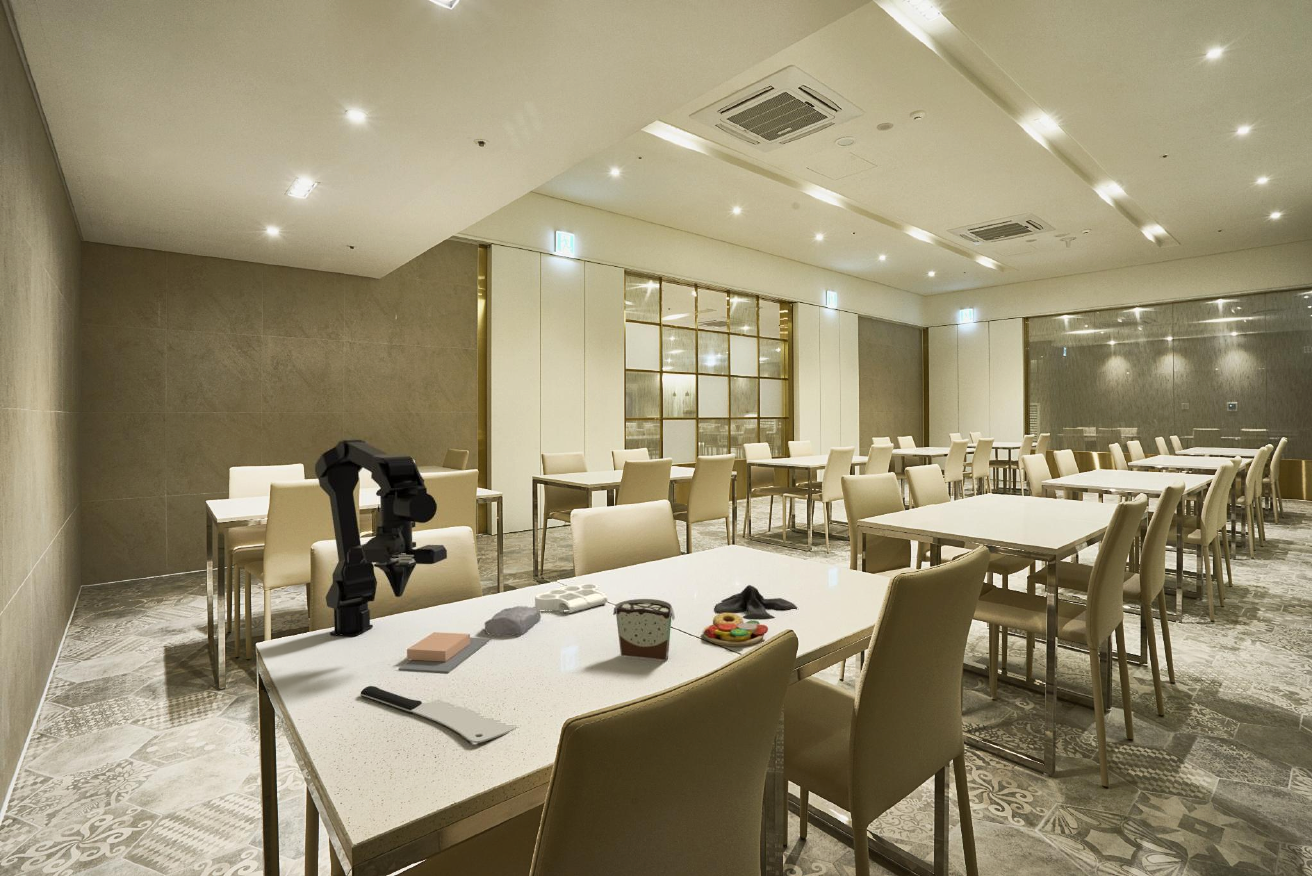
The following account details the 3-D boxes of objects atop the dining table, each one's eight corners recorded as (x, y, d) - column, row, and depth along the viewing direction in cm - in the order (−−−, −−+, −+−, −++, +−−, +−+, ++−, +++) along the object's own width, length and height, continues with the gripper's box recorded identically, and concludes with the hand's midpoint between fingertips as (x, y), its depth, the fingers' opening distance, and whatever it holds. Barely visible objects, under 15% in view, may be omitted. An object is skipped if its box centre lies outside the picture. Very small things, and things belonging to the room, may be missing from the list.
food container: (683, 650, 127) (682, 600, 127) (674, 662, 121) (673, 609, 121) (625, 644, 131) (624, 596, 131) (613, 655, 125) (612, 604, 125)
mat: (398, 670, 119) (398, 668, 119) (447, 637, 137) (447, 636, 137) (448, 672, 118) (448, 671, 118) (491, 639, 135) (491, 638, 135)
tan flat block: (407, 649, 123) (445, 651, 122) (434, 632, 133) (469, 634, 132) (407, 660, 124) (445, 662, 122) (434, 642, 133) (470, 644, 132)
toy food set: (722, 624, 144) (722, 609, 144) (777, 634, 137) (776, 619, 137) (690, 641, 133) (690, 625, 133) (748, 653, 126) (748, 637, 126)
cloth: (806, 606, 158) (805, 581, 158) (776, 627, 142) (775, 599, 142) (725, 594, 170) (724, 571, 170) (689, 611, 155) (689, 586, 155)
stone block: (482, 643, 139) (525, 636, 137) (478, 621, 139) (521, 614, 137) (505, 628, 150) (545, 621, 149) (501, 608, 151) (540, 600, 149)
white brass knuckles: (558, 620, 150) (524, 607, 160) (617, 603, 162) (582, 593, 173) (558, 605, 150) (524, 594, 160) (617, 590, 162) (582, 580, 173)
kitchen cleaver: (530, 717, 98) (479, 737, 90) (529, 729, 98) (478, 750, 90) (403, 676, 115) (351, 690, 107) (403, 686, 115) (350, 700, 107)
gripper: (327, 525, 122) (330, 606, 123) (416, 525, 119) (419, 609, 119) (364, 516, 133) (366, 591, 134) (447, 517, 130) (449, 593, 130)
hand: (398, 596), depth 129 cm, fingers closed
